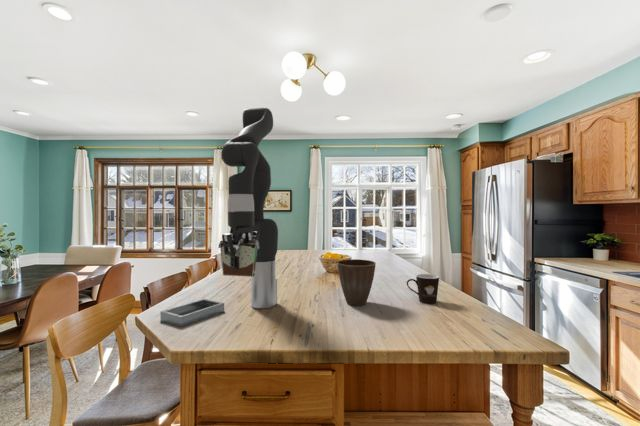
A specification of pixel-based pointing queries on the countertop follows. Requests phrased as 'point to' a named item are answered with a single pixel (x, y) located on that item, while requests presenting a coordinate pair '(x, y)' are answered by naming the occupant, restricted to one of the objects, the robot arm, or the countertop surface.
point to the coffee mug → (426, 288)
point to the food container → (241, 260)
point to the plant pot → (356, 280)
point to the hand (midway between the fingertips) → (241, 267)
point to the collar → (175, 313)
